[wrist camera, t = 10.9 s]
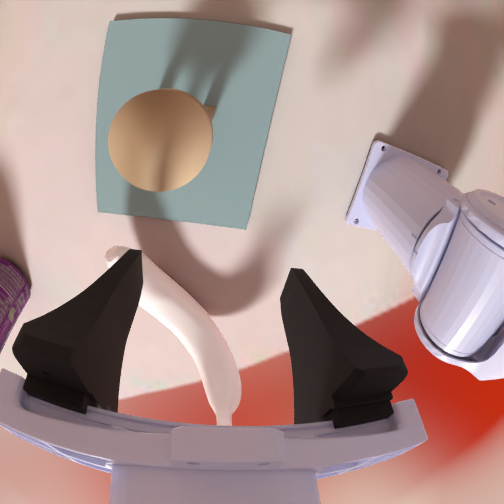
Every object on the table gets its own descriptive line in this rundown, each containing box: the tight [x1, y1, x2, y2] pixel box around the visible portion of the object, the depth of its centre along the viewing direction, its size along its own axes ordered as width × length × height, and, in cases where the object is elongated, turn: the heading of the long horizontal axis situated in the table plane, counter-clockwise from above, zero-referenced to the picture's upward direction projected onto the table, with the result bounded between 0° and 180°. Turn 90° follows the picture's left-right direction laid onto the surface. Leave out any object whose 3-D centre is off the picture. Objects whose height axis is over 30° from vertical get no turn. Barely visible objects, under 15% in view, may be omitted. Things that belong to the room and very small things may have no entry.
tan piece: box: [108, 88, 216, 192], centre depth 15 cm, size 5×5×7 cm
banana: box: [105, 246, 241, 426], centre depth 22 cm, size 5×19×15 cm, turn 31°
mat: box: [95, 18, 291, 230], centre depth 18 cm, size 13×16×1 cm
